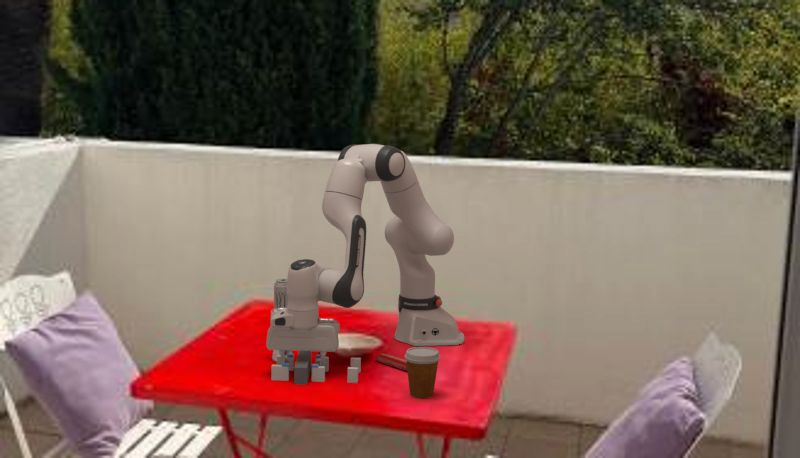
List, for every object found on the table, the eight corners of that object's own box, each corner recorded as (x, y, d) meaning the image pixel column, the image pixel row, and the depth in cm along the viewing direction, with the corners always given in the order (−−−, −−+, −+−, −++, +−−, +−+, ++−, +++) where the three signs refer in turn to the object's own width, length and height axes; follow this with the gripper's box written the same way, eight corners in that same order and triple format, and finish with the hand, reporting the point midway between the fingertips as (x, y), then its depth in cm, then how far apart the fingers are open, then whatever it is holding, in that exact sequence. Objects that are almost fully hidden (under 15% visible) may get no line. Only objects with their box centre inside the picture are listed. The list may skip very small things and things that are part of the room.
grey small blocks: (360, 371, 293) (360, 355, 292) (357, 382, 283) (357, 367, 282) (277, 368, 294) (277, 353, 293) (271, 380, 284) (271, 364, 283)
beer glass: (290, 363, 299) (290, 314, 296) (267, 361, 300) (267, 312, 297) (297, 356, 305) (297, 308, 303) (274, 355, 307) (274, 306, 304)
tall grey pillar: (311, 367, 296) (311, 350, 296) (306, 385, 281) (307, 367, 280) (299, 367, 296) (299, 350, 296) (294, 385, 281) (294, 367, 280)
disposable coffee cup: (402, 388, 279) (403, 346, 276) (437, 388, 279) (438, 346, 277) (405, 400, 269) (406, 357, 267) (441, 400, 270) (442, 356, 268)
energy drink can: (271, 325, 339) (271, 281, 336) (277, 321, 345) (276, 277, 342) (289, 326, 338) (289, 282, 335) (294, 322, 344) (294, 278, 341)
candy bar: (420, 372, 294) (420, 362, 293) (411, 375, 291) (411, 365, 291) (381, 359, 305) (381, 350, 305) (372, 362, 303) (372, 352, 302)
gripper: (340, 316, 288) (340, 363, 291) (269, 313, 289) (269, 360, 292) (338, 321, 282) (338, 369, 285) (265, 319, 283) (265, 367, 285)
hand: (302, 365), depth 288 cm, fingers open, 8 cm apart
